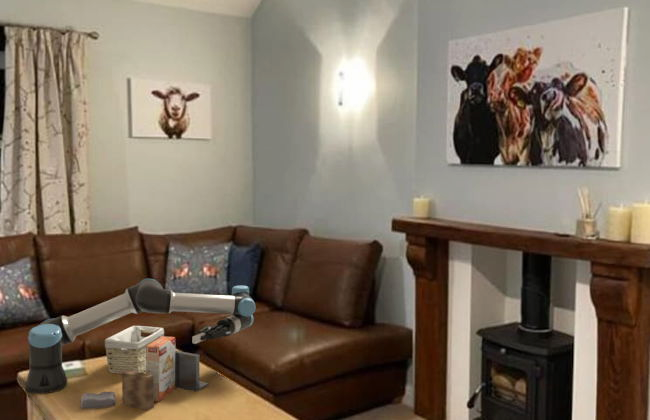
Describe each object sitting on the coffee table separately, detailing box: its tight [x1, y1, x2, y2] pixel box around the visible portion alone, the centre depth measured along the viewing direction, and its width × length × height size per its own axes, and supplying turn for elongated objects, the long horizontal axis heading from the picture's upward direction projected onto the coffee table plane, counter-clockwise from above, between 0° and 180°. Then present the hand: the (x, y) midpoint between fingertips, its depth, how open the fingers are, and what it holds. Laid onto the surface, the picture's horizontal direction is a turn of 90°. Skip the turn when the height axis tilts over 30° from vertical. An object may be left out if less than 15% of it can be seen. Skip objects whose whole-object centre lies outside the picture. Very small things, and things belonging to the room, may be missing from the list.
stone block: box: [80, 390, 116, 410], centre depth 234 cm, size 12×5×10 cm
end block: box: [121, 370, 155, 411], centre depth 231 cm, size 12×3×12 cm, turn 64°
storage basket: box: [104, 325, 165, 375], centre depth 274 cm, size 24×16×15 cm
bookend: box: [175, 350, 210, 393], centre depth 252 cm, size 14×8×14 cm, turn 64°
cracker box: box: [145, 335, 176, 402], centre depth 242 cm, size 14×6×21 cm, turn 168°
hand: (193, 340), depth 254 cm, fingers closed
